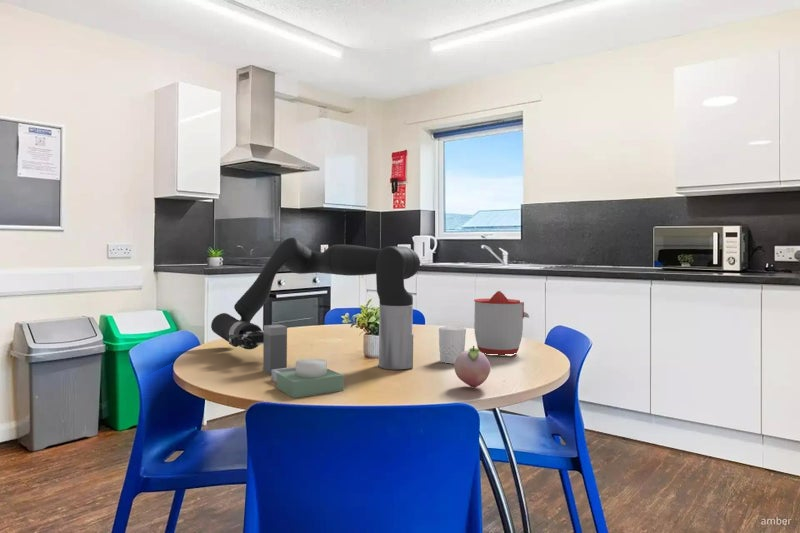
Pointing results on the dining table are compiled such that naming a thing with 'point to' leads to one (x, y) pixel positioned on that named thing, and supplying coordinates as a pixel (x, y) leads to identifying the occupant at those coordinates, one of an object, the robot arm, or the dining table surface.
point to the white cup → (451, 342)
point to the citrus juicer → (499, 324)
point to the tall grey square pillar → (274, 347)
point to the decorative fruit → (472, 367)
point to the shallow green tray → (307, 378)
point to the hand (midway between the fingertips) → (265, 342)
